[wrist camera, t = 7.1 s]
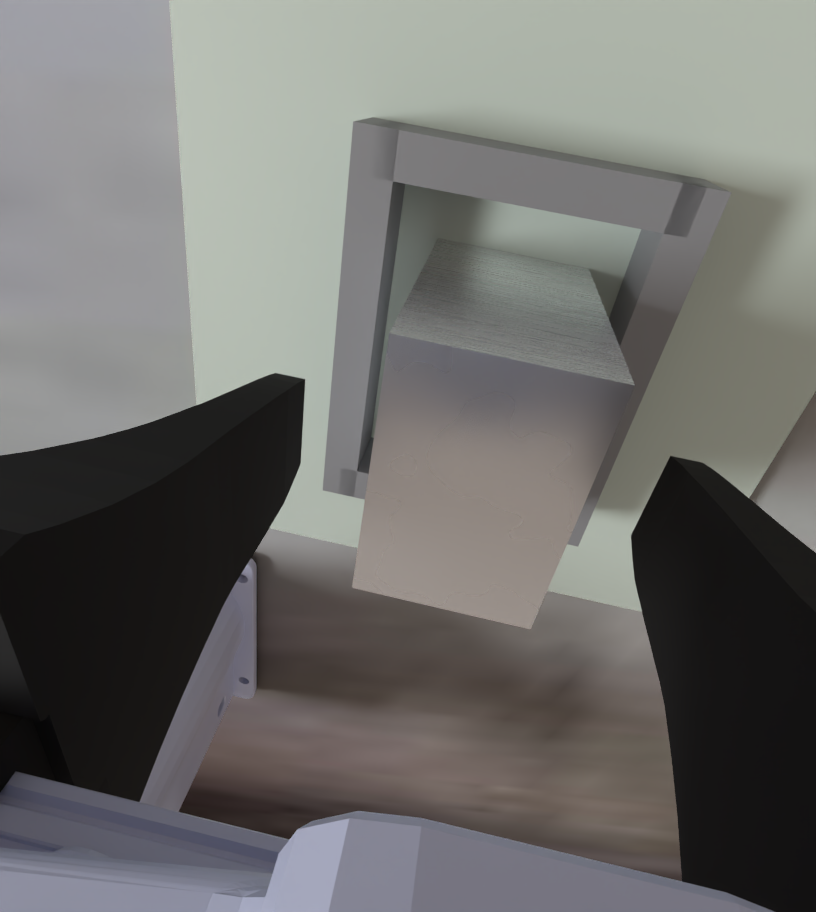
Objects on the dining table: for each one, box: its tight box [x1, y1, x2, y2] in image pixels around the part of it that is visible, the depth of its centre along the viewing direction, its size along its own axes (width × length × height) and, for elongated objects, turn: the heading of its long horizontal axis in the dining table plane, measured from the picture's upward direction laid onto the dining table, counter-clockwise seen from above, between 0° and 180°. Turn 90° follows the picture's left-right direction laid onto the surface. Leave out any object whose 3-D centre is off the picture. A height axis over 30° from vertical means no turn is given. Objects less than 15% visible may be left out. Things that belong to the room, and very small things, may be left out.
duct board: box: [169, 0, 816, 612], centre depth 16 cm, size 18×18×2 cm
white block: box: [352, 238, 635, 630], centre depth 14 cm, size 4×6×7 cm, turn 171°
